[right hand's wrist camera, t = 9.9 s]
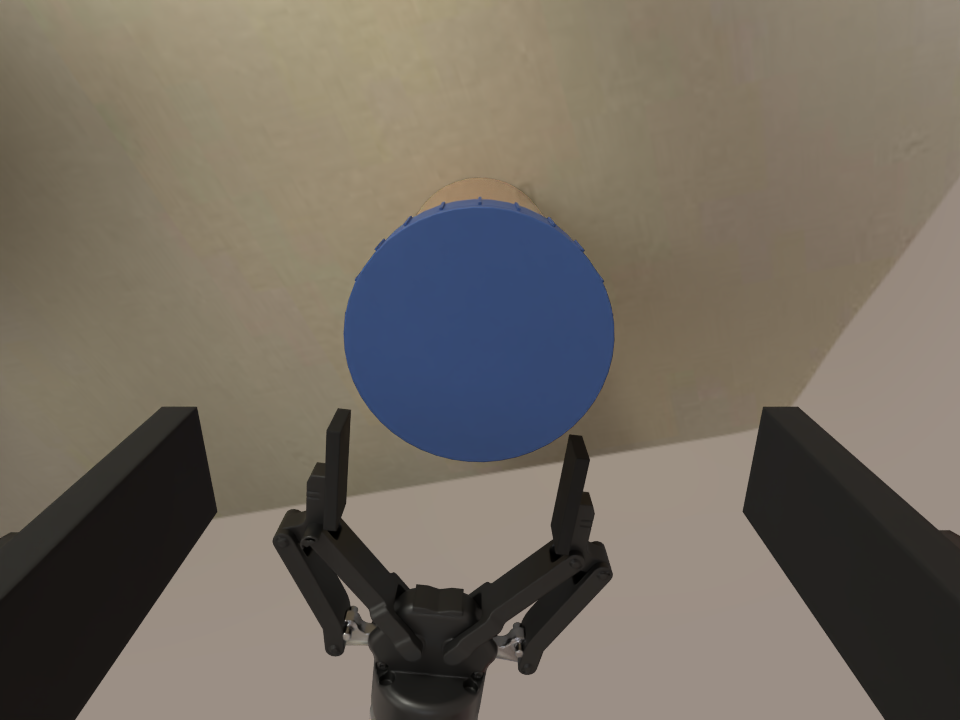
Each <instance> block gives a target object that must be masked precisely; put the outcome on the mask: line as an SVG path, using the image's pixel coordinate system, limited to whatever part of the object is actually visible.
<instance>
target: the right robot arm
mask: <svg viewBox="0 0 960 720" xmlns="http://www.w3.org/2000/svg"><path fill="white" fill-rule="evenodd" d="M216 513H217V507H216V502H215V497H214V492H213V487H212V482H211V477H210V471H209V466H208V461H207V456H206V451H205V446H204V441H203V435H202V430H201V425H200V420H199V415H198V410H197V407H161V408H160V409H159V410H158V411H157V412H156V413H154V414H153V415H152V416H151V417H150V418H149V419H148V420H146V421H145V422H144V423H143V424H142V425H141V426H140V427H139V428H137V429H136V430H135V431H134V432H133V433H132V434H131V435H129V436H128V437H127V438H126V439H125V440H124V441H123V442H121V443H120V444H119V445H118V446H117V447H116V448H115V449H113V450H112V451H111V452H110V453H109V454H108V455H107V456H105V457H104V458H103V459H102V460H101V461H100V462H99V463H97V464H96V465H95V466H94V467H93V468H92V469H91V470H90V471H88V472H87V473H86V474H85V475H84V476H83V477H82V478H80V479H79V480H78V481H77V482H76V483H75V484H74V485H72V486H71V487H70V488H69V489H68V490H67V491H66V492H64V493H63V494H62V495H61V496H60V497H59V498H58V499H56V500H55V501H54V502H53V503H52V504H51V505H50V506H48V507H47V508H46V509H45V510H44V511H43V512H42V513H41V514H39V515H38V516H37V517H36V518H35V519H34V520H33V521H31V522H30V523H29V524H28V525H27V526H26V527H25V528H23V529H22V530H21V531H20V532H11V533H9V534H7V535H5V536H3V537H2V538H0V720H75V719H76V718H77V716H78V715H79V713H80V712H81V710H82V709H83V707H84V706H85V704H86V703H87V701H88V700H89V699H90V697H91V696H92V694H93V693H94V691H95V690H96V688H97V687H98V685H99V684H100V682H101V681H102V680H103V678H104V677H105V675H106V674H107V672H108V671H109V669H110V668H111V666H112V665H113V663H114V662H115V661H116V659H117V658H118V656H119V655H120V653H121V652H122V650H123V649H124V647H125V646H126V644H127V643H128V642H129V640H130V639H131V637H132V636H133V634H134V633H135V631H136V630H137V628H138V627H139V625H140V624H141V623H142V621H143V620H144V618H145V617H146V615H147V614H148V612H149V611H150V609H151V608H152V606H153V605H154V603H155V602H156V601H157V599H158V598H159V596H160V595H161V593H162V592H163V590H164V589H165V587H166V586H167V584H168V583H169V582H170V580H171V579H172V577H173V576H174V574H175V573H176V571H177V570H178V568H179V567H180V565H181V564H182V563H183V561H184V560H185V558H186V557H187V555H188V554H189V552H190V551H191V549H192V548H193V547H194V545H195V544H196V542H197V541H198V539H199V538H200V536H201V535H202V533H203V532H204V530H205V529H206V528H207V526H208V525H209V523H210V522H211V520H212V519H213V517H214V516H215V514H216ZM743 513H744V514H745V516H746V517H747V519H748V520H749V522H750V523H751V525H752V526H753V527H754V529H755V530H756V532H757V533H758V535H759V536H760V538H761V539H762V541H763V542H764V544H765V545H766V547H767V548H768V549H769V551H770V552H771V554H772V555H773V557H774V558H775V560H776V561H777V563H778V564H779V566H780V567H781V568H782V570H783V571H784V573H785V574H786V576H787V577H788V579H789V580H790V582H791V583H792V585H793V586H794V587H795V589H796V590H797V592H798V593H799V595H800V596H801V598H802V599H803V601H804V602H805V604H806V605H807V606H808V608H809V609H810V611H811V612H812V614H813V615H814V617H815V618H816V620H817V621H818V622H819V624H820V625H821V627H822V628H823V630H824V631H825V633H826V634H827V636H828V637H829V639H830V640H831V642H832V643H833V644H834V646H835V647H836V649H837V650H838V652H839V653H840V655H841V656H842V658H843V659H844V660H845V662H846V663H847V665H848V666H849V668H850V669H851V671H852V672H853V674H854V675H855V677H856V678H857V680H858V681H859V682H860V684H861V685H862V687H863V688H864V690H865V691H866V693H867V694H868V696H869V697H870V699H871V700H872V701H873V703H874V704H875V706H876V707H877V709H878V710H879V712H880V713H881V714H882V716H883V718H884V719H885V720H960V536H959V535H957V534H955V533H954V532H952V531H950V530H938V529H937V528H935V527H934V526H933V525H932V524H931V523H930V522H929V521H927V520H926V519H925V518H924V517H923V516H922V515H921V514H919V513H918V512H917V511H916V510H915V509H914V508H913V507H911V506H910V505H909V504H908V503H907V502H906V501H905V500H904V499H902V498H901V497H900V496H899V495H898V494H897V493H896V492H894V491H893V490H892V489H891V488H890V487H889V486H888V485H886V484H885V483H884V482H883V481H882V480H881V479H880V478H878V477H877V476H876V475H875V474H874V473H873V472H872V471H870V470H869V469H868V468H867V467H866V466H865V465H864V464H862V463H861V462H860V461H859V460H858V459H857V458H856V457H855V456H853V455H852V454H851V453H850V452H849V451H848V450H847V449H845V448H844V447H843V446H842V445H841V444H840V443H839V442H837V441H836V440H835V439H834V438H833V437H832V436H831V435H829V434H828V433H827V432H826V431H825V430H824V429H823V428H821V427H820V426H819V425H818V424H817V423H816V422H815V421H813V420H812V419H811V418H810V417H809V416H808V415H807V414H806V413H804V412H803V411H802V410H801V409H800V408H799V407H763V410H762V415H761V420H760V425H759V430H758V435H757V441H756V446H755V451H754V456H753V461H752V466H751V471H750V477H749V482H748V487H747V492H746V497H745V502H744V507H743Z"/></svg>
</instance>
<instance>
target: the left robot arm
mask: <svg viewBox="0 0 960 720" xmlns="http://www.w3.org/2000/svg"><path fill="white" fill-rule="evenodd" d="M350 418H351V410H348V409H339V408H338V409H337V411H336V413H335V415H334V417H333V419H332V421H331V423H330V425H329V427H328V429H327V435H326V463H318V462H317V463H316V465H315V467H314V469H313V471H312V473H311V475H310V477H309V479H308V481H307V503H306V511H303V512H301V511H299V510H296V509H291V510H289V511H287V513H286V514H285V516H284V518H283V520H282V522H281V524H280V526H279V528H278V530H277V532H276V534H275V536H274V538H273V545H274V547H275V548H276V550H277V552H278V553H279V555H280V557H281V559H282V560H283V562H284V564H285V565H286V567H287V569H288V570H289V572H290V574H291V575H292V577H293V579H294V581H295V582H296V584H297V586H298V587H299V589H300V591H301V593H302V594H303V596H304V598H305V599H306V601H307V603H308V605H309V606H310V608H311V610H312V611H313V613H314V615H315V617H316V618H317V620H318V622H319V623H320V625H321V627H322V628H323V633H324V643H325V650H326V652H327V653H328V654H329V655H331V656H340V655H341V654H342V653H343V652H344V649H345V645H368V646H369V648H370V650H371V651H372V653H373V655H374V670H373V682H372V695H371V708H370V718H369V720H477V719H478V713H479V709H480V703H481V697H482V692H483V686H484V681H485V675H486V670H487V668H488V666H489V665H490V664H491V663H492V662H493V661H494V660H495V658H499V659H504V660H510V661H515V662H518V670H519V672H521V673H522V674H525V675H530V674H533V673H534V672H535V671H536V669H537V667H538V664H539V662H540V659H541V656H542V654H543V651H544V650H545V649H546V648H547V647H548V646H549V645H550V644H551V643H552V641H553V640H554V639H555V638H556V637H557V636H558V635H559V634H560V633H561V632H562V631H563V630H564V629H565V628H566V627H567V626H568V624H569V623H570V622H571V621H572V620H573V619H574V618H575V617H576V616H577V615H578V614H579V613H580V612H581V611H582V610H583V609H584V608H585V607H586V605H587V604H588V603H589V602H590V601H591V600H592V599H593V598H594V597H595V596H596V595H597V594H598V593H599V592H600V591H601V589H603V587H604V586H605V585H606V584H607V583H608V582H609V581H610V580H611V578H612V576H613V573H612V570H611V566H610V563H609V560H608V556H607V553H606V550H605V547H604V544H602V543H601V542H598V541H594V542H589V541H588V540H589V535H590V531H591V527H592V523H593V519H594V514H595V513H594V509H593V505H592V501H591V498H590V495H589V492H583V488H584V484H585V479H586V475H587V471H588V466H589V462H590V459H589V456H588V453H587V450H586V447H585V444H584V441H583V438H582V436H578V435H569V439H568V444H567V449H566V454H565V458H564V463H563V468H562V473H561V478H560V483H559V488H558V492H557V497H556V502H555V507H554V512H553V517H552V522H551V529H552V535H553V540H552V541H550V542H549V543H547V544H546V545H545V546H543V547H542V548H540V549H539V550H538V551H536V552H535V553H533V554H532V555H531V556H529V557H528V558H526V559H525V560H524V561H522V562H521V563H520V564H518V565H517V566H515V567H514V568H513V569H511V570H510V571H508V572H507V573H506V574H504V575H503V576H502V577H500V578H499V579H497V580H496V581H495V582H493V583H489V582H486V583H484V584H483V585H481V586H480V587H479V588H477V589H476V590H474V591H473V592H472V593H470V594H469V595H468V594H465V593H463V591H464V590H463V589H458V588H447V589H437V588H434V587H431V586H427V585H418V584H417V585H416V588H413V589H409V588H408V587H407V585H406V584H405V583H404V582H403V581H402V580H401V579H400V577H399V576H398V575H397V574H396V573H394V572H393V573H389V572H388V570H387V569H386V568H385V567H384V566H383V565H382V564H381V563H380V561H379V560H378V559H377V558H376V557H375V556H374V555H373V553H372V552H371V551H370V550H369V549H368V548H367V547H366V546H365V544H364V543H363V542H362V541H361V540H360V539H359V538H358V537H357V535H356V534H355V533H354V532H353V531H352V530H351V529H350V528H349V526H348V525H347V524H346V523H345V522H344V521H343V520H342V518H341V516H342V513H343V511H344V508H345V505H346V495H347V475H348V456H349V437H350ZM337 575H338V576H339V578H340V579H341V580H342V581H343V582H344V583H345V584H346V585H347V586H348V587H349V588H350V589H351V591H352V592H353V593H354V594H355V595H356V596H357V597H358V598H359V599H360V600H361V601H362V602H363V603H364V605H365V606H366V607H367V608H368V609H369V611H370V616H371V619H372V623H367V622H365V621H363V620H362V619H361V617H360V615H359V613H357V612H358V608H357V607H356V606H351V607H350V601H349V598H348V595H347V593H346V591H345V589H344V587H343V585H342V583H341V582H340V580H339V578H338V576H337ZM537 600H538V601H537ZM536 601H537V602H536ZM534 602H536V603H535V604H534V605H533V606H532V607H531V608H530V610H529V611H528V612H527V613H526V615H525V617H524V618H523V620H522V623H519V622H516V623H514V624H513V629H511V631H510V632H509V633H508V634H507V635H505V636H497V634H499V633H500V632H501V630H502V628H503V626H504V624H505V623H506V622H507V621H508V620H510V619H511V618H513V617H514V616H515V615H517V614H518V613H520V612H521V611H523V610H524V609H526V608H527V607H528V606H530V605H531V604H533V603H534Z"/></svg>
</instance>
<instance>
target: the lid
mask: <svg viewBox="0 0 960 720" xmlns="http://www.w3.org/2000/svg"><path fill="white" fill-rule="evenodd" d="M375 250H376V252H375V253H374V254H373V256H372V257H371V258H370V260H369V261H368V262H367V264H366V265H365V266H364V268H363V269H362V271H361V272H360V273H359V275H358V276H357V277H356V279H355V281H356V282H355V284H354V287H353V290H352V292H351V295H350V298H349V301H348V305H347V310H346V312H345V323H344V346H345V354H346V359H347V364H348V368H349V370H350V373H351V376H352V379H353V382H354V384H355V386H356V388H357V390H358V392H359V394H360V396H361V397H362V399H363V400H364V402H365V403H366V405H367V406H368V408H369V409H370V410H371V412H372V413H373V414H374V415H375V416H376V417H377V418H378V419H379V421H380V422H381V423H382V424H384V425H385V426H386V427H387V428H388V429H389V430H390V431H391V432H393V433H394V434H395V435H397V436H398V437H400V438H401V439H403V440H404V441H406V442H407V443H409V444H411V445H413V446H415V447H417V448H419V449H421V450H423V451H426V452H428V453H431V454H434V455H436V456H440V457H444V458H448V459H452V460H460V461H467V462H489V461H500V460H505V459H510V458H515V457H518V456H521V455H524V454H527V453H530V452H533V451H535V450H537V449H539V448H541V447H544V446H546V445H547V444H549V443H551V442H552V441H554V440H556V439H557V438H559V437H560V436H562V435H563V434H564V433H565V432H567V431H568V430H569V429H570V428H572V427H573V426H574V425H575V424H576V423H577V422H578V421H579V420H580V419H581V418H582V417H583V416H584V414H585V413H586V412H587V410H588V409H589V408H590V406H591V405H592V404H593V403H594V401H595V399H596V397H597V396H598V394H599V392H600V390H601V389H602V387H603V384H604V382H605V379H606V377H607V374H608V372H609V368H610V364H611V360H612V356H613V348H614V320H613V313H612V308H611V304H610V301H609V298H608V294H607V291H606V289H605V287H604V285H603V282H604V280H603V279H602V277H601V276H600V275H599V274H598V273H597V271H596V270H595V268H594V267H593V265H592V263H591V262H590V260H589V259H588V258H587V257H586V255H585V254H584V253H583V252H584V251H585V250H584V249H583V248H582V247H581V245H580V244H579V243H578V242H577V241H576V240H575V241H573V240H572V239H571V238H570V237H569V236H568V235H567V234H566V233H565V232H564V231H563V230H562V229H560V228H559V227H558V226H557V225H556V224H555V223H554V222H553V220H552V219H551V218H550V217H548V218H545V217H544V216H542V215H540V214H538V213H536V212H534V211H532V210H530V209H527V208H525V207H522V206H519V204H518V203H517V202H515V204H512V203H509V202H503V201H497V200H489V199H482V197H478V199H470V200H461V201H454V202H450V203H446V204H445V201H444V202H442V203H441V205H439V206H436V207H434V208H431V209H429V210H426V211H424V212H422V213H420V214H418V215H417V216H415V217H413V218H412V216H410V217H409V218H408V219H407V220H406V222H405V223H404V224H403V225H402V226H400V227H399V228H398V229H396V230H395V231H394V232H393V233H392V234H391V235H390V236H389V237H388V238H387V239H386V240H385V239H383V240H382V241H381V242H380V243H379V245H378V246H377V247H376V248H375Z"/></svg>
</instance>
